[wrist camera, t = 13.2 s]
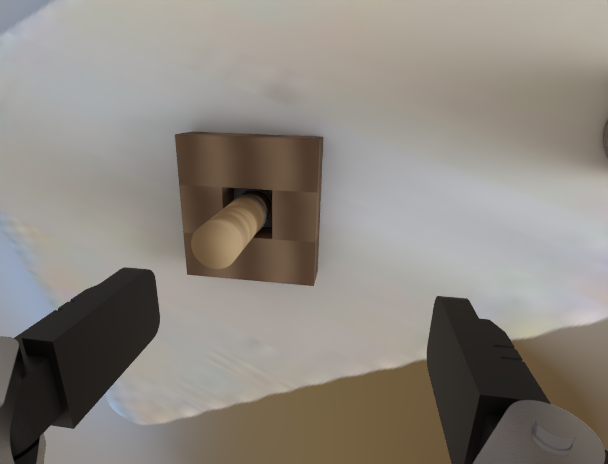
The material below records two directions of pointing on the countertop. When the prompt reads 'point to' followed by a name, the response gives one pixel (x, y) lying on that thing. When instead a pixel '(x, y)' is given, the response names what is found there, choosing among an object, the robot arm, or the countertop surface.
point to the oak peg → (230, 230)
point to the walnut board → (255, 175)
